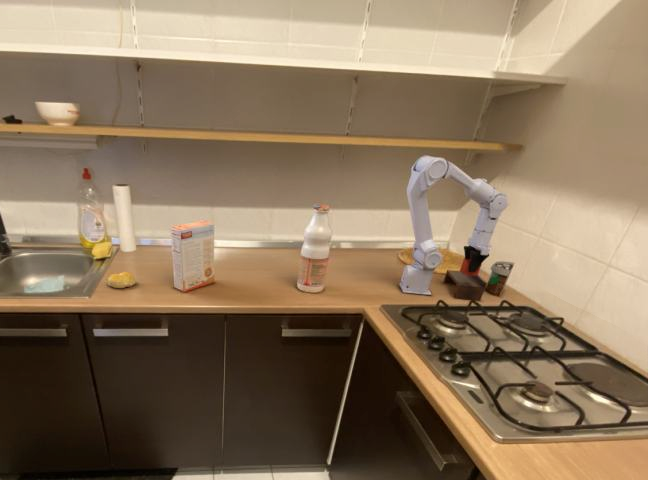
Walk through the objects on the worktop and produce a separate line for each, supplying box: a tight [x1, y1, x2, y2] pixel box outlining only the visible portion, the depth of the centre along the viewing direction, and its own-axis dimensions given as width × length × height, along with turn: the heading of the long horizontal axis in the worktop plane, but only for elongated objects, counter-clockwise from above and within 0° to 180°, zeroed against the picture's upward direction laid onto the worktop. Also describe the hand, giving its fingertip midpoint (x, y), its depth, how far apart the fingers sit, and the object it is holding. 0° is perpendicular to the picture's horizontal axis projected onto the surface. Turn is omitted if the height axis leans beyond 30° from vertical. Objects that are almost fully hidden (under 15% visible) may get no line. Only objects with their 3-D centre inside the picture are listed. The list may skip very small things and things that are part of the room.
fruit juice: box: [296, 204, 333, 294], centre depth 129 cm, size 9×9×28 cm
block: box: [459, 258, 483, 276], centre depth 134 cm, size 4×4×4 cm
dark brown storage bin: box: [442, 269, 488, 302], centre depth 137 cm, size 8×16×6 cm, turn 169°
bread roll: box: [107, 271, 136, 289], centre depth 131 cm, size 8×9×4 cm
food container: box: [485, 260, 515, 297], centre depth 138 cm, size 12×6×10 cm, turn 141°
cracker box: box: [170, 220, 215, 293], centre depth 129 cm, size 14×6×21 cm, turn 134°
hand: (469, 269), depth 134 cm, fingers closed on block, 4 cm apart
